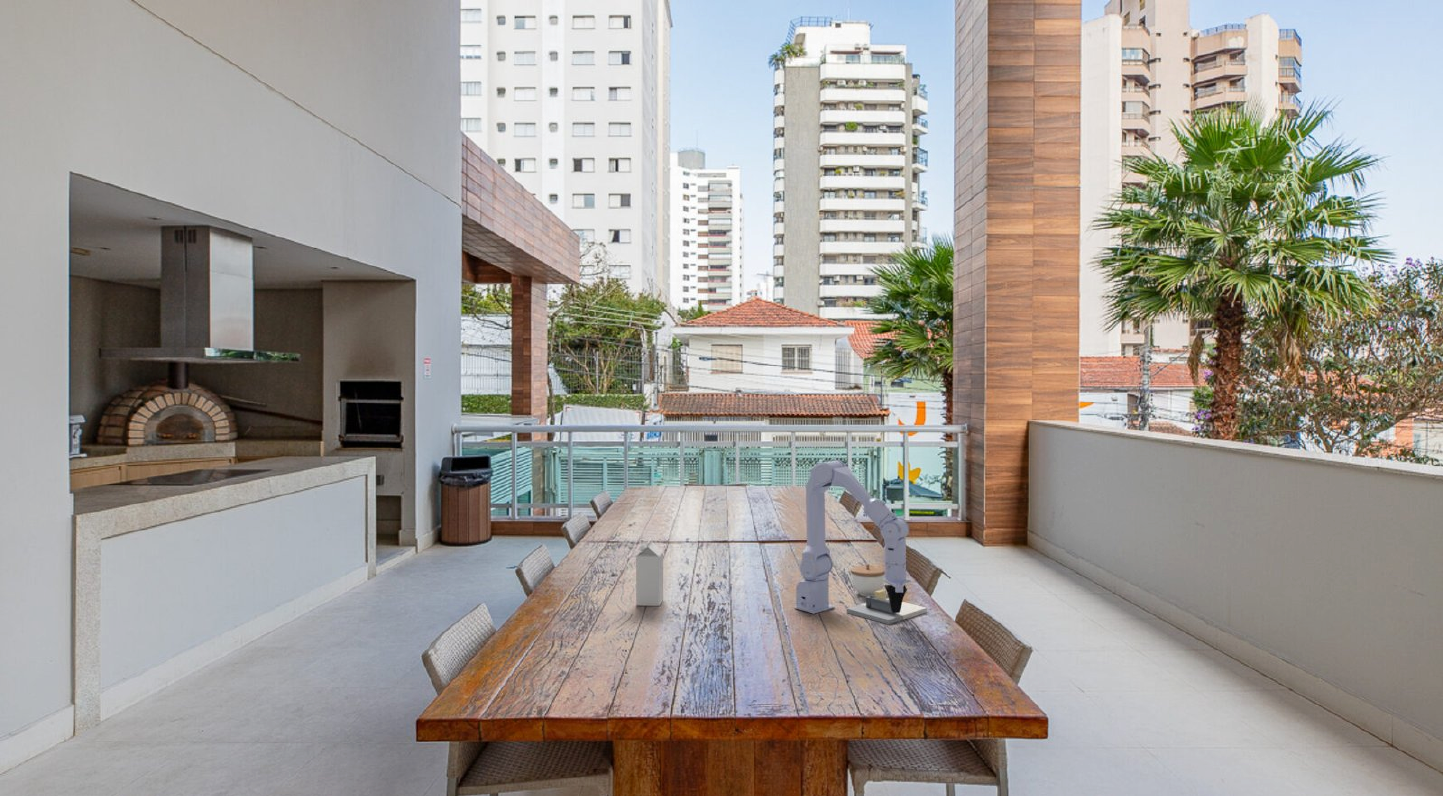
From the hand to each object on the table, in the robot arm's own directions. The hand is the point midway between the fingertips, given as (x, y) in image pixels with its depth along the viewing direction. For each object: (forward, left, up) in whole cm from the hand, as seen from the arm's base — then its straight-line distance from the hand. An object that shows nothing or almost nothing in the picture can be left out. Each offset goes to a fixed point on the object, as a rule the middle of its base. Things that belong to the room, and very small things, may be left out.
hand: (895, 612), depth 210 cm
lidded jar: (+19, +25, -3) cm, 31 cm away
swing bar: (+4, +8, -2) cm, 9 cm away
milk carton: (-39, +62, -3) cm, 73 cm away
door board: (+7, +8, -3) cm, 11 cm away
